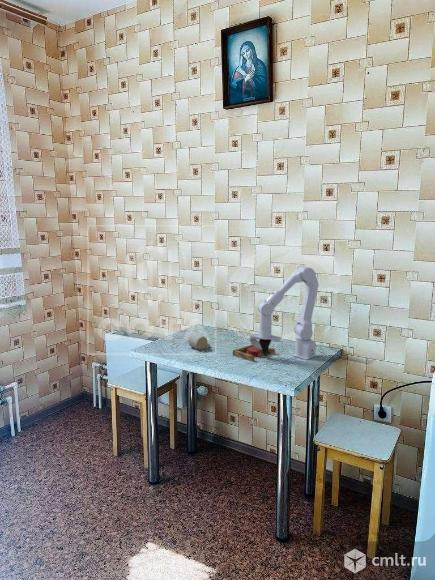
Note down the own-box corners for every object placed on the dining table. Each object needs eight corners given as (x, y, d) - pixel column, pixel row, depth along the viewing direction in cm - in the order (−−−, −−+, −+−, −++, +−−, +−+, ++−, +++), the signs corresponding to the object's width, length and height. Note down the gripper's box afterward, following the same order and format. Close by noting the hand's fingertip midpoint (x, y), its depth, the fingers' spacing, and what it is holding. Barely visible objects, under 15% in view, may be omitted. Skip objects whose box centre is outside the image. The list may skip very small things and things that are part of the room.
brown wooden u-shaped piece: (274, 353, 219) (275, 349, 218) (252, 361, 208) (252, 356, 207) (255, 348, 228) (255, 343, 228) (232, 355, 217) (232, 350, 217)
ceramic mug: (197, 351, 223) (197, 337, 222) (187, 347, 229) (187, 333, 228) (213, 347, 230) (213, 333, 228) (203, 344, 236) (203, 330, 235)
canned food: (256, 359, 225) (262, 341, 226) (268, 363, 216) (274, 343, 218) (239, 352, 219) (246, 334, 221) (251, 356, 210) (258, 336, 212)
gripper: (282, 326, 211) (281, 353, 214) (253, 323, 216) (252, 350, 218) (279, 330, 205) (278, 357, 207) (249, 327, 210) (248, 354, 212)
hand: (265, 354), depth 212 cm, fingers closed
